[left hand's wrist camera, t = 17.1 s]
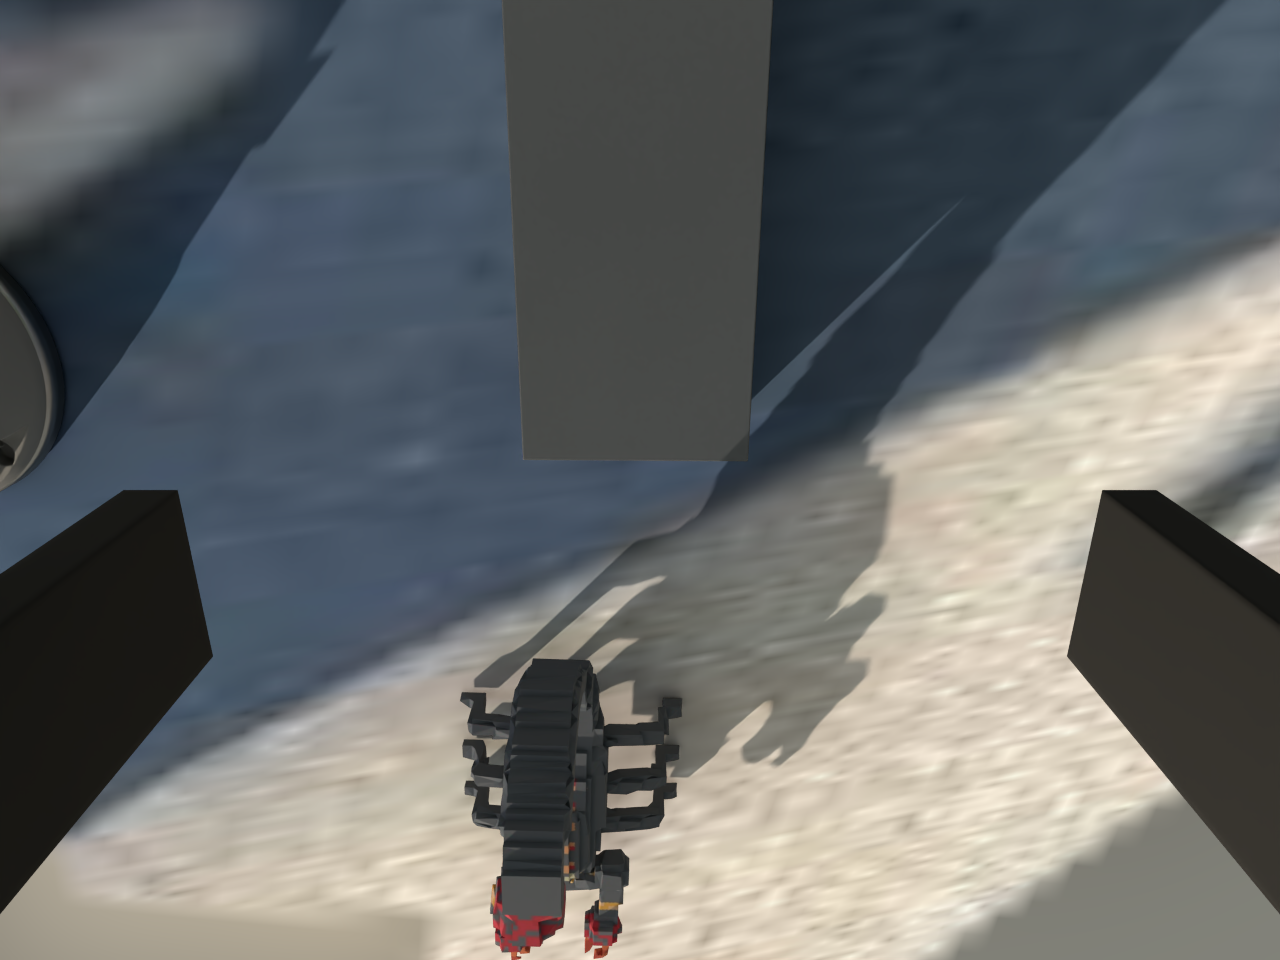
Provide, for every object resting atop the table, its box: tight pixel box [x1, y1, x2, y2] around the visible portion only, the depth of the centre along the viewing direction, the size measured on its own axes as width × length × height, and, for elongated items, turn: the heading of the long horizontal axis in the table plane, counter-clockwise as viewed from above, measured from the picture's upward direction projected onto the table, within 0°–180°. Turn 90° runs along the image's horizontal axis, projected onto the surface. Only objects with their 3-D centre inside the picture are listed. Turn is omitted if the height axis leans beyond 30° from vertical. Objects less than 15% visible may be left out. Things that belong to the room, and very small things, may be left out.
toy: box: [460, 659, 682, 960], centre depth 46 cm, size 13×27×18 cm, turn 178°
